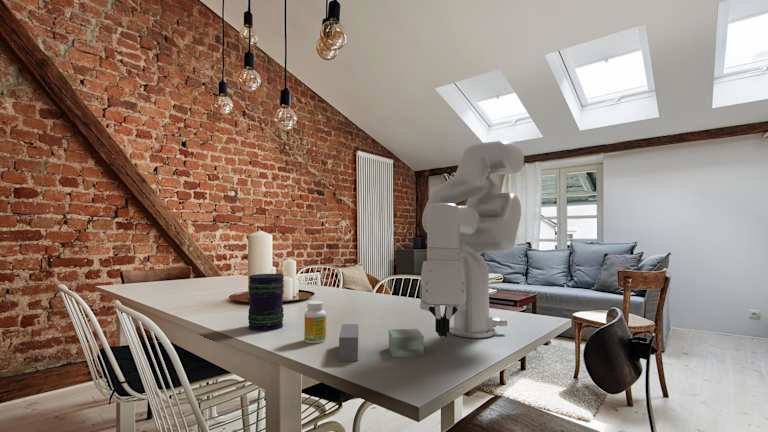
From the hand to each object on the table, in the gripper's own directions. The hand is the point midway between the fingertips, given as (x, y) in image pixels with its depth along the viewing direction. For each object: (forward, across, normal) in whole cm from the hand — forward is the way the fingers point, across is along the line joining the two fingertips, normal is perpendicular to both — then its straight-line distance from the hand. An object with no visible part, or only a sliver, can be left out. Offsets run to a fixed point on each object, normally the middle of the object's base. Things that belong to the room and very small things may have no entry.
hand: (442, 335), depth 90 cm
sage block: (+4, +8, -1) cm, 9 cm away
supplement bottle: (+4, +30, -11) cm, 33 cm away
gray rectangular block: (+4, +21, -1) cm, 22 cm away
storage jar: (+4, +46, -26) cm, 53 cm away
